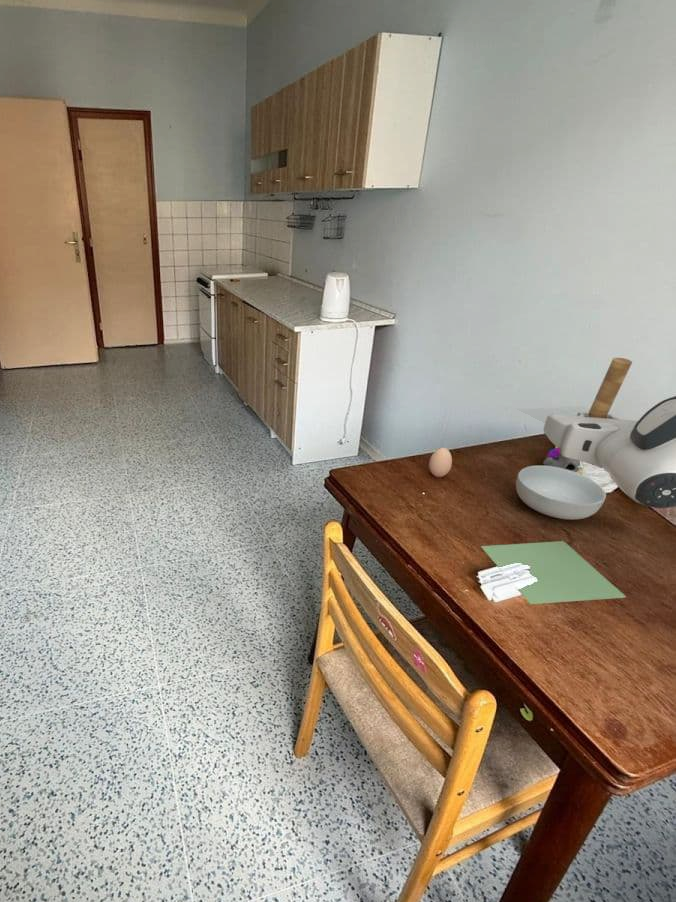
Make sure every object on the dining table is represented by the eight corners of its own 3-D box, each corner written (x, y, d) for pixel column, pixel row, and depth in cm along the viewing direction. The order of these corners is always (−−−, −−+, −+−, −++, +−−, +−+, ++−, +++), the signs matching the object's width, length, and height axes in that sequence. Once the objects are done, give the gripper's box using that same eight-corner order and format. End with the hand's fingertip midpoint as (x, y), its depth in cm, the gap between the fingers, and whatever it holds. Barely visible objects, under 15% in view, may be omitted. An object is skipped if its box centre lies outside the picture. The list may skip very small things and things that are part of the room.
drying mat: (562, 543, 98) (563, 540, 98) (625, 599, 84) (626, 597, 84) (479, 548, 97) (480, 546, 97) (529, 606, 83) (530, 603, 83)
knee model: (562, 460, 139) (571, 490, 119) (536, 444, 141) (541, 471, 121) (587, 436, 134) (601, 463, 114) (560, 420, 136) (569, 444, 116)
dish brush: (582, 442, 102) (622, 354, 92) (605, 457, 97) (650, 365, 86) (557, 444, 101) (595, 355, 91) (578, 459, 96) (622, 367, 86)
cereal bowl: (548, 535, 101) (559, 508, 97) (494, 494, 115) (501, 469, 112) (614, 524, 104) (627, 498, 100) (553, 486, 118) (562, 461, 115)
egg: (435, 469, 126) (441, 441, 122) (452, 477, 122) (459, 449, 118) (422, 474, 124) (428, 446, 120) (439, 483, 120) (446, 454, 116)
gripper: (700, 436, 80) (660, 406, 92) (563, 425, 86) (541, 398, 97) (684, 468, 83) (647, 435, 95) (552, 455, 89) (533, 426, 100)
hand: (593, 416), depth 96 cm, fingers closed on dish brush, 3 cm apart
